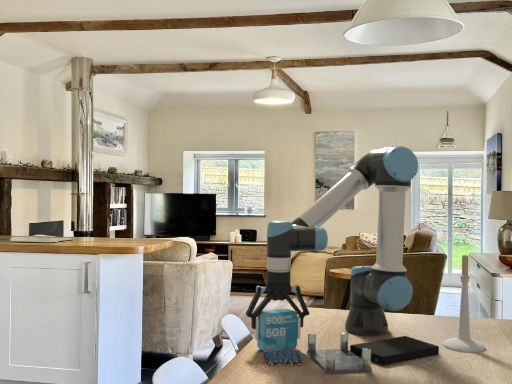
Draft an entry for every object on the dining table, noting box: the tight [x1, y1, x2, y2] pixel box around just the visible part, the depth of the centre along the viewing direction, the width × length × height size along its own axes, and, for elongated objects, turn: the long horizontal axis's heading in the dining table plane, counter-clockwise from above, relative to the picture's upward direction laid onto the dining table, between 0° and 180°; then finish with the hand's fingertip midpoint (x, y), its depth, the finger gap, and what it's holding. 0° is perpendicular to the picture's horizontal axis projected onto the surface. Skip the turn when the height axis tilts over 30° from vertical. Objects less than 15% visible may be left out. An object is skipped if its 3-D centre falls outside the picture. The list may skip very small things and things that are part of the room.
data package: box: [256, 308, 299, 353], centre depth 179 cm, size 12×4×12 cm, turn 116°
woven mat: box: [263, 350, 303, 367], centre depth 167 cm, size 10×11×2 cm
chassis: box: [306, 332, 373, 375], centre depth 166 cm, size 13×20×6 cm, turn 12°
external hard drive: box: [349, 335, 440, 367], centre depth 176 cm, size 14×23×3 cm, turn 121°
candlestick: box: [442, 254, 486, 354], centre depth 184 cm, size 13×13×30 cm
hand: (277, 338), depth 179 cm, fingers closed on data package, 13 cm apart
